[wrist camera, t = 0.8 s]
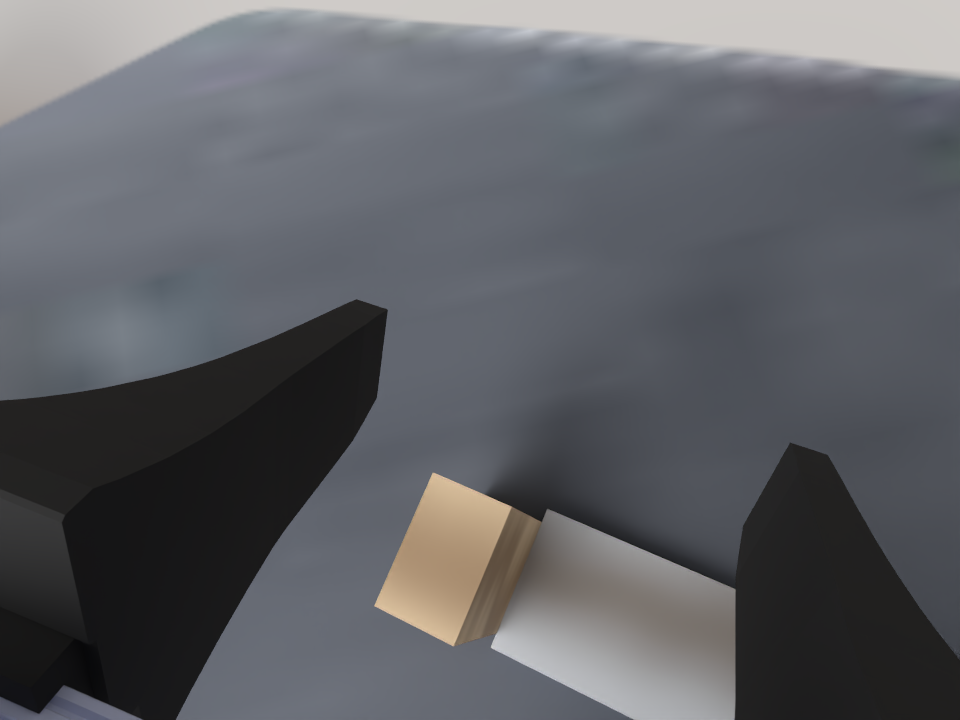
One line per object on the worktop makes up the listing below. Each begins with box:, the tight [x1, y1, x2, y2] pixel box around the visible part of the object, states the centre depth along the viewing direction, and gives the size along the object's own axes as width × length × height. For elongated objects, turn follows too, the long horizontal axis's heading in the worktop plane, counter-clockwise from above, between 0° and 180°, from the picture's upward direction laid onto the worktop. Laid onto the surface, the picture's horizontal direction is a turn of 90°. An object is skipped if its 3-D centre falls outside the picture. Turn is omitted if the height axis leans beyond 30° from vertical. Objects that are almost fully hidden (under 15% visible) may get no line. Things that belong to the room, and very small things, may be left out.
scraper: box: [375, 473, 736, 720], centre depth 21 cm, size 5×21×6 cm, turn 66°
